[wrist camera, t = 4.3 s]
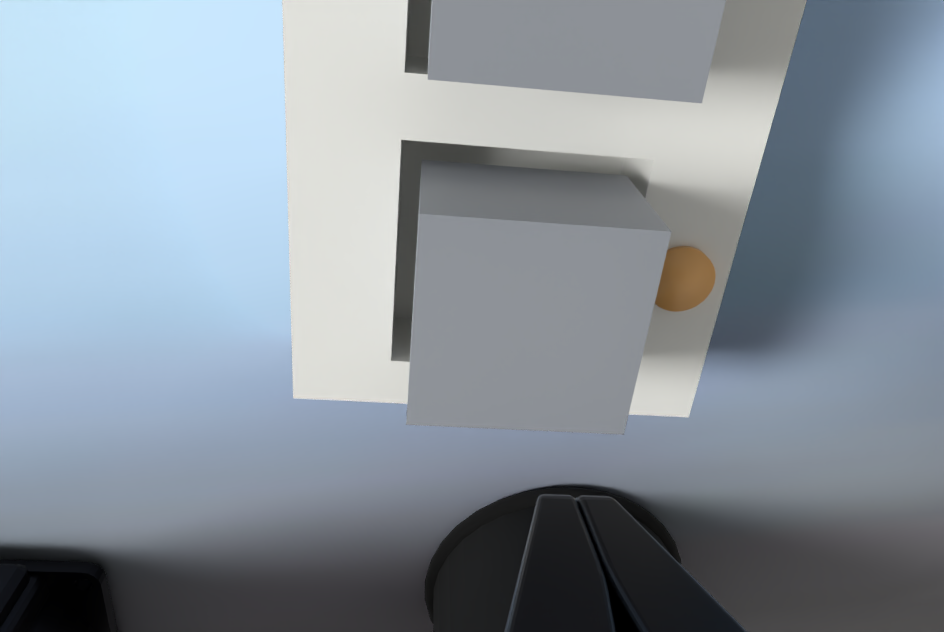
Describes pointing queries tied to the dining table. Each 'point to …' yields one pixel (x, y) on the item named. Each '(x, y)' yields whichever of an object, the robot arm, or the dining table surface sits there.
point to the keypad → (503, 144)
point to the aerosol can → (498, 560)
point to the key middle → (578, 45)
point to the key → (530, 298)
